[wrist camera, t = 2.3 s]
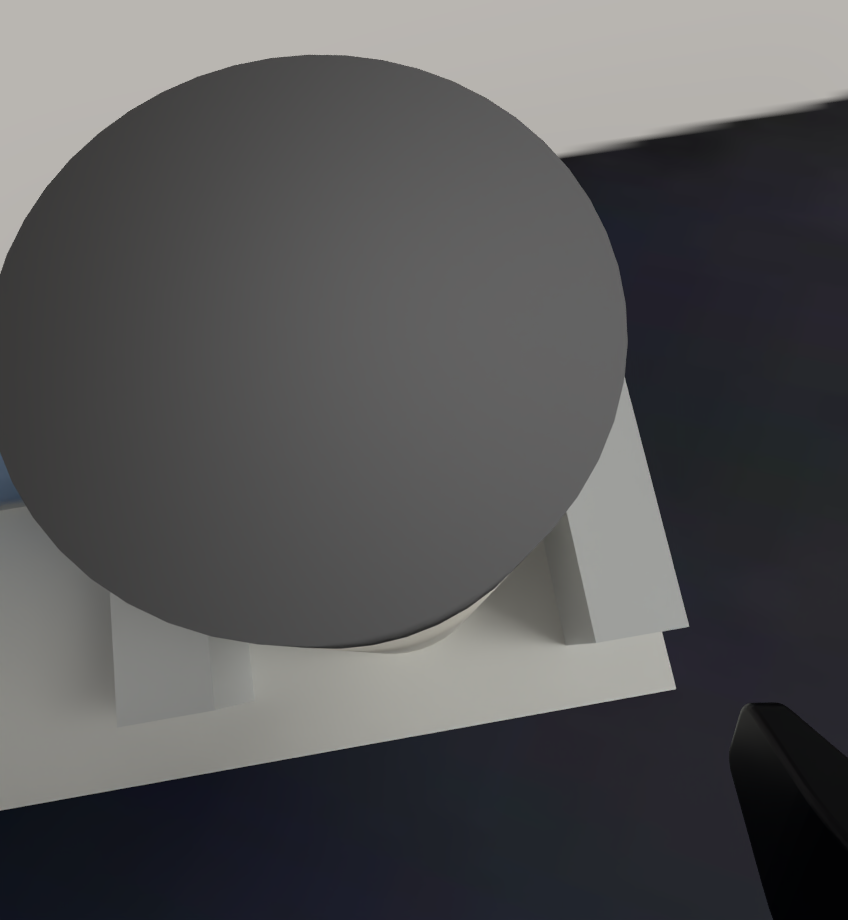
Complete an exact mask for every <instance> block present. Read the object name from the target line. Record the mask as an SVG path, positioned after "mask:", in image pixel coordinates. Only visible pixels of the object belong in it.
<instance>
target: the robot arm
mask: <svg viewBox="0 0 848 920" xmlns="http://www.w3.org/2000/svg"><path fill="white" fill-rule="evenodd" d="M729 763H730V769H731V773H732V777H733V781H734V784H735V788H736V792H737V795H738V799H739V802H740V806H741V810H742V813H743V817H744V821H745V824H746V828H747V832H748V835H749V839H750V842H751V846H752V850H753V853H754V857H755V861H756V864H757V868H758V872H759V875H760V879H761V883H762V886H763V889H764V893H765V896H766V899H767V903H768V906H769V909H770V912H771V915H772V918H773V920H848V758H847V757H846V756H845V755H843V754H842V753H841V752H840V751H839V750H838V749H836V748H835V747H834V746H833V745H832V744H830V743H829V742H828V741H827V740H826V739H825V738H823V737H822V736H821V735H820V734H819V733H818V732H816V731H815V730H814V729H813V728H812V727H810V726H809V725H808V724H807V723H806V722H805V721H803V720H802V719H801V718H800V717H799V716H798V715H796V714H795V713H794V712H793V711H792V710H790V709H789V708H788V707H786V706H784V705H783V704H780V703H749V704H746V705H745V706H744V707H743V708H742V710H741V712H740V716H739V719H738V722H737V726H736V729H735V733H734V736H733V739H732V743H731V746H730V751H729Z"/></svg>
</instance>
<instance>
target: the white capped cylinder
mask: <svg viewBox="0 0 848 920" xmlns="http://www.w3.org/2000/svg"><path fill="white" fill-rule="evenodd" d="M627 343H628V342H627V322H626V304H625V298H624V293H623V288H622V283H621V278H620V273H619V267H618V264H617V262H616V259H615V256H614V253H613V250H612V247H611V244H610V241H609V238H608V235H607V233H606V230H605V228H604V226H603V224H602V223H601V221H600V219H599V217H598V215H597V213H596V211H595V209H594V207H593V205H592V203H591V201H590V199H589V197H588V196H587V195H586V193H585V192H584V190H583V189H582V187H581V186H580V184H579V183H578V182H577V180H576V179H575V177H574V176H573V174H572V173H571V171H570V170H569V169H568V168H567V166H566V165H565V164H564V163H563V162H562V161H561V160H560V159H559V158H558V157H557V155H556V154H555V153H554V152H553V151H552V150H551V149H550V148H549V147H548V145H547V144H545V142H544V141H543V140H541V139H540V138H539V137H538V136H537V135H536V134H534V133H533V132H532V131H531V130H530V129H529V128H527V127H526V126H525V125H524V124H523V123H522V122H520V121H519V120H518V119H517V118H516V117H514V116H513V115H511V114H509V113H508V112H506V111H505V110H503V109H502V108H500V107H499V106H497V105H496V104H494V103H493V102H491V101H490V100H488V99H487V98H485V97H483V96H481V95H479V94H477V93H475V92H473V91H471V90H469V89H467V88H465V87H463V86H461V85H459V84H457V83H455V82H453V81H450V80H448V79H445V78H442V77H439V76H437V75H434V74H431V73H428V72H426V71H423V70H420V69H417V68H413V67H409V66H404V65H400V64H396V63H392V62H388V61H383V60H377V59H369V58H361V57H353V56H342V55H341V56H340V55H339V56H338V55H302V56H292V57H279V58H270V59H265V60H260V61H255V62H250V63H245V64H239V65H234V66H231V67H228V68H225V69H222V70H218V71H215V72H212V73H209V74H205V75H202V76H199V77H196V78H194V79H192V80H190V81H187V82H185V83H182V84H180V85H178V86H176V87H173V88H171V89H169V90H166V91H164V92H162V93H160V94H159V95H157V96H155V97H153V98H152V99H150V100H148V101H146V102H144V103H143V104H141V105H139V106H137V107H136V108H134V109H132V110H130V111H129V112H127V113H126V114H125V115H123V116H122V117H121V118H119V119H118V120H117V121H115V122H114V123H112V124H111V125H110V126H108V127H107V128H105V129H104V130H103V131H101V132H100V133H99V134H98V135H97V136H96V137H94V138H93V139H92V140H91V141H90V142H89V143H88V144H87V145H86V146H84V147H83V148H82V149H81V150H80V151H79V152H78V153H77V154H76V155H75V156H74V157H72V158H71V159H70V161H69V162H68V163H67V164H66V165H65V166H64V168H63V169H62V170H61V171H60V172H59V173H58V175H57V176H56V177H55V178H54V179H53V180H52V181H51V183H50V184H49V185H48V186H47V187H46V189H45V190H44V191H43V193H42V194H41V196H40V197H39V199H38V200H37V202H36V203H35V205H34V206H33V208H32V209H31V211H30V213H29V214H28V215H27V217H26V218H25V220H24V222H23V224H22V226H21V228H20V230H19V232H18V234H17V236H16V238H15V240H14V242H13V244H12V246H11V248H10V250H9V252H8V254H7V256H6V259H5V262H4V265H3V268H2V271H1V274H0V453H1V456H2V458H3V461H4V463H5V466H6V468H7V471H8V473H9V476H10V478H11V481H12V483H13V485H14V486H15V488H16V490H17V491H18V493H19V495H20V496H21V498H22V500H23V502H24V503H25V505H26V507H27V508H28V510H29V512H30V513H31V515H32V517H33V518H34V519H35V521H36V522H37V523H38V524H39V526H40V527H41V528H42V529H43V531H44V532H45V533H46V534H47V535H48V537H49V538H50V539H51V540H52V542H53V543H54V544H55V545H56V547H57V548H58V549H59V550H60V551H61V552H62V553H63V554H64V555H65V556H66V557H68V558H69V559H70V560H71V561H72V562H73V563H74V564H75V565H76V566H77V567H78V568H80V569H81V570H82V571H83V572H84V573H85V574H86V575H87V576H88V577H89V578H91V579H92V580H93V581H95V582H96V583H98V584H99V585H101V586H102V587H104V588H105V589H107V590H108V591H110V592H111V593H113V594H114V595H116V596H117V597H119V598H120V599H122V600H123V601H125V602H126V603H128V604H130V605H132V606H134V607H136V608H138V609H140V610H142V611H144V612H146V613H148V614H151V615H153V616H155V617H157V618H159V619H161V620H163V621H165V622H167V623H170V624H173V625H176V626H180V627H183V628H186V629H189V630H192V631H195V632H199V633H202V634H205V635H208V636H211V637H217V638H223V639H229V640H235V641H241V642H247V643H253V644H260V645H273V646H287V647H300V648H314V649H327V650H341V651H354V652H368V653H381V654H400V653H409V652H413V651H417V650H421V649H424V648H426V647H429V646H431V645H434V644H435V643H437V642H439V641H441V640H443V639H444V638H446V637H447V636H448V635H450V634H451V633H452V632H454V631H455V630H456V629H457V628H458V627H459V626H460V625H461V624H462V623H463V622H464V621H465V620H466V619H467V618H468V617H469V616H470V615H471V614H472V613H473V612H474V611H475V610H476V609H477V607H478V606H479V605H480V604H481V603H482V602H483V601H484V600H485V599H486V598H487V597H488V596H489V595H490V594H491V593H492V592H493V591H494V590H495V589H496V588H497V587H498V586H499V585H500V584H501V583H502V582H503V581H504V580H505V578H506V577H507V576H508V575H509V574H510V573H511V572H512V571H513V570H514V569H515V568H516V567H517V566H518V565H519V564H520V563H521V562H522V561H523V560H524V559H525V558H526V557H527V556H528V555H529V554H530V553H531V552H532V551H533V549H534V548H535V547H536V546H537V545H538V544H539V543H540V542H541V541H542V540H543V539H544V538H545V537H546V536H547V535H548V534H549V533H550V532H551V531H552V529H553V528H554V527H555V526H556V524H557V523H558V522H559V520H560V519H561V518H562V517H563V515H564V514H565V513H566V511H567V510H568V509H569V507H570V506H571V505H572V504H573V502H574V501H575V500H576V498H577V497H578V496H579V494H580V492H581V490H582V489H583V487H584V485H585V483H586V482H587V480H588V478H589V476H590V475H591V473H592V471H593V469H594V468H595V466H596V464H597V462H598V461H599V458H600V456H601V453H602V451H603V448H604V446H605V443H606V441H607V438H608V436H609V433H610V431H611V428H612V426H613V423H614V421H615V416H616V412H617V408H618V404H619V400H620V396H621V392H622V388H623V383H624V375H625V364H626V354H627Z"/></svg>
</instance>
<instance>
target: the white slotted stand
mask: <svg viewBox="0 0 848 920" xmlns="http://www.w3.org/2000/svg"><path fill="white" fill-rule="evenodd" d="M684 627H689V624H688V620H687V616H686V612H685V609H684V605H683V601H682V597H681V593H680V589H679V585H678V582H677V578H676V574H675V570H674V566H673V562H672V558H671V555H670V551H669V547H668V543H667V539H666V535H665V531H664V528H663V524H662V520H661V516H660V512H659V508H658V504H657V501H656V497H655V493H654V489H653V485H652V481H651V477H650V474H649V470H648V466H647V462H646V458H645V454H644V450H643V447H642V443H641V439H640V435H639V431H638V427H637V423H636V420H635V416H634V412H633V408H632V404H631V400H630V396H629V393H628V389H627V385H626V381H625V377H624V383H623V388H622V392H621V396H620V400H619V404H618V408H617V412H616V416H615V421H614V423H613V426H612V428H611V431H610V433H609V436H608V438H607V441H606V443H605V446H604V448H603V451H602V453H601V456H600V458H599V461H598V462H597V464H596V466H595V468H594V469H593V471H592V473H591V475H590V476H589V478H588V480H587V482H586V483H585V485H584V487H583V489H582V490H581V492H580V494H579V496H578V497H577V498H576V500H575V501H574V502H573V504H572V505H571V506H570V507H569V509H568V510H567V511H566V513H565V514H564V515H563V517H562V518H561V519H560V520H559V522H558V523H557V524H556V526H555V527H554V528H553V529H552V531H551V532H550V533H549V534H548V535H547V536H546V537H545V538H544V539H543V540H542V541H541V542H540V543H539V544H538V545H537V546H536V547H535V548H534V549H533V551H532V552H531V553H530V554H529V555H528V556H527V557H526V558H525V559H524V560H523V561H522V562H521V563H520V564H519V565H518V566H517V567H516V568H515V569H514V570H513V571H512V572H511V573H510V574H509V575H508V576H507V577H506V578H505V580H504V581H503V582H502V583H501V584H500V585H499V586H498V587H497V588H496V589H495V590H494V591H493V592H492V593H491V594H490V595H489V596H488V597H487V598H486V599H485V600H484V601H483V602H482V603H481V604H480V605H479V606H478V607H477V609H476V610H475V611H474V612H473V613H472V614H471V615H470V616H469V617H468V618H467V619H466V620H465V621H464V622H463V623H462V624H461V625H460V626H459V627H458V628H457V629H456V630H455V631H454V632H452V633H451V634H450V635H448V636H447V637H446V638H444V639H443V640H441V641H439V642H437V643H435V644H434V645H431V646H429V647H426V648H424V649H421V650H417V651H413V652H409V653H400V654H381V653H368V652H354V651H341V650H327V649H314V648H300V647H287V646H273V645H260V644H253V643H247V642H241V641H235V640H229V639H223V638H217V637H211V636H208V635H205V634H202V633H199V632H195V631H192V630H189V629H186V628H183V627H180V626H176V625H173V624H170V623H167V622H165V621H163V620H161V619H159V618H157V617H155V616H153V615H151V614H148V613H146V612H144V611H142V610H140V609H138V608H136V607H134V606H132V605H130V604H128V603H126V602H125V601H123V600H122V599H120V598H119V597H117V596H116V595H114V594H113V593H111V592H110V591H108V590H107V589H105V588H104V587H102V586H101V585H99V584H98V583H96V582H95V581H93V580H92V579H91V578H89V577H88V576H87V575H86V574H85V573H84V572H83V571H82V570H81V569H80V568H78V567H77V566H76V565H75V564H74V563H73V562H72V561H71V560H70V559H69V558H68V557H66V556H65V555H64V554H63V553H62V552H61V551H60V550H59V549H58V548H57V547H56V545H55V544H54V543H53V542H52V540H51V539H50V538H49V537H48V535H47V534H46V533H45V532H44V531H43V529H42V528H41V527H40V526H39V524H38V523H37V522H36V521H35V519H34V518H33V517H32V515H31V513H30V512H29V510H28V508H27V507H26V505H25V503H24V502H23V500H22V498H21V496H20V495H19V493H18V491H17V490H16V488H15V486H14V485H13V483H12V481H11V478H10V476H9V473H8V471H7V468H6V466H5V463H4V461H3V458H2V456H1V453H0V811H1V810H6V809H12V808H17V807H23V806H28V805H34V804H39V803H45V802H51V801H56V800H62V799H67V798H73V797H78V796H84V795H90V794H95V793H101V792H106V791H112V790H117V789H123V788H128V787H134V786H140V785H145V784H151V783H156V782H162V781H167V780H173V779H179V778H184V777H190V776H195V775H201V774H206V773H212V772H217V771H223V770H229V769H234V768H240V767H245V766H251V765H256V764H262V763H268V762H273V761H279V760H284V759H290V758H295V757H301V756H306V755H312V754H318V753H323V752H329V751H334V750H340V749H345V748H351V747H357V746H362V745H368V744H373V743H379V742H384V741H390V740H396V739H401V738H407V737H412V736H418V735H423V734H429V733H434V732H440V731H446V730H451V729H457V728H462V727H468V726H473V725H479V724H485V723H490V722H496V721H501V720H507V719H512V718H518V717H523V716H529V715H535V714H540V713H546V712H551V711H557V710H562V709H568V708H574V707H579V706H585V705H590V704H596V703H601V702H607V701H612V700H618V699H624V698H629V697H635V696H640V695H646V694H651V693H657V692H663V691H668V690H674V689H676V687H675V683H674V679H673V675H672V671H671V667H670V663H669V659H668V655H667V651H666V647H665V643H664V639H663V635H662V631H667V630H673V629H678V628H684Z"/></svg>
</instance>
